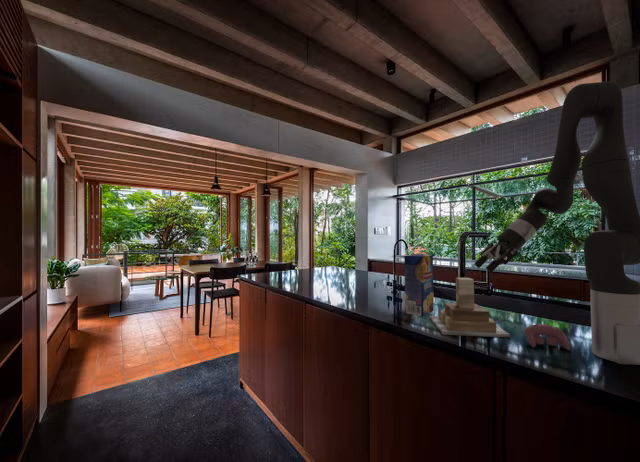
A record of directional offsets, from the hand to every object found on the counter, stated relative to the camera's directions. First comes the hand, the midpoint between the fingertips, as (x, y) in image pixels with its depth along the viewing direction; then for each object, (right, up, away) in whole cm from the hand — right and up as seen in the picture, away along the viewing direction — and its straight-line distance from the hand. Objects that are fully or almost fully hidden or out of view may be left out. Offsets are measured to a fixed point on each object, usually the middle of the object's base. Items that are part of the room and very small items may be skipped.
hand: (482, 268), depth 99 cm
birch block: (-6, -14, 0) cm, 15 cm away
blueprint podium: (-6, -21, 0) cm, 22 cm away
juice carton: (-15, -21, +21) cm, 33 cm away
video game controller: (+9, -21, -17) cm, 28 cm away
